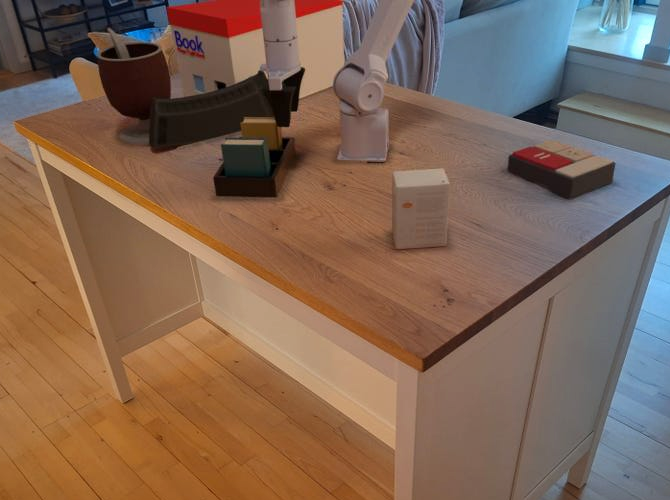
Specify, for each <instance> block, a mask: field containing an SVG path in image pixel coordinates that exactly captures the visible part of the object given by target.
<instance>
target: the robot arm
mask: <svg viewBox="0 0 670 500" xmlns="http://www.w3.org/2000/svg"><path fill="white" fill-rule="evenodd" d="M414 2H415V0H379V1H378V4H377V6H376V8H375V11H374V13H373V15H372V18H371V20H370V23H369V24H368V27H367V29H366V32H365V34H364V35H363V38H362V40H361V42H360V45H359V48H358V49H357V50H356V51H354V52H353V53H351V54H350V55H348V56H347V58H346V61H345V62H344V66H343V67H342V68H341V69H340V70H339V71H338V72H337V73H336V75H335V77H334V80H333V86H332V90H333V93H334V95H335V96H336V98H338V99H339V100H338V101H339V105H338V106H339V131H340V148H339V151H338V153H337V157H336V160H337V161H364V162H365V161H366V162H369V163H385V162H386V161H387V158H388V157H387V156H388V151H389V149H390V137H389V129H390V128H389V125H390V123H389V120H390V119H389V118H390V117H389V109H388V108H383V107H381V105H382V103H383V100H384V97H385V87H386V84H387V81H388V80H389V73H388V70H387V61H388V58H389V56H390V54H391V52H392V50H393V48H394V45H395V43H396V41H397V39H398V37H399V34H400V32H401V31H402V28H403V27H404V24H405V21H406V19H407V18H408V15H409V13H410V10H411V9H412V6H413V4H414ZM260 11H261V20H262V30H263V39H264V48H265V57H266V64H261V66H260V71H266V73H267V75H268V77H269V85H263V87H262V92H263V95H264V96H265V97H266V99H267V100H268V102H269V104H270V106H271V109H272V112H273V115H274V118H275V121H276V124H277V126H278V127H281V128H290V125H291V118H292V112H293V113H297V112H298V111H299V104H300V103H299V102H300V99H299V94H300V87H301V82H302V78H303V75H304V73H305V68H303V67H301V64H300V62H299V52H298V40H297V27H296V14H295V3H294V0H260Z"/></svg>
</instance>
